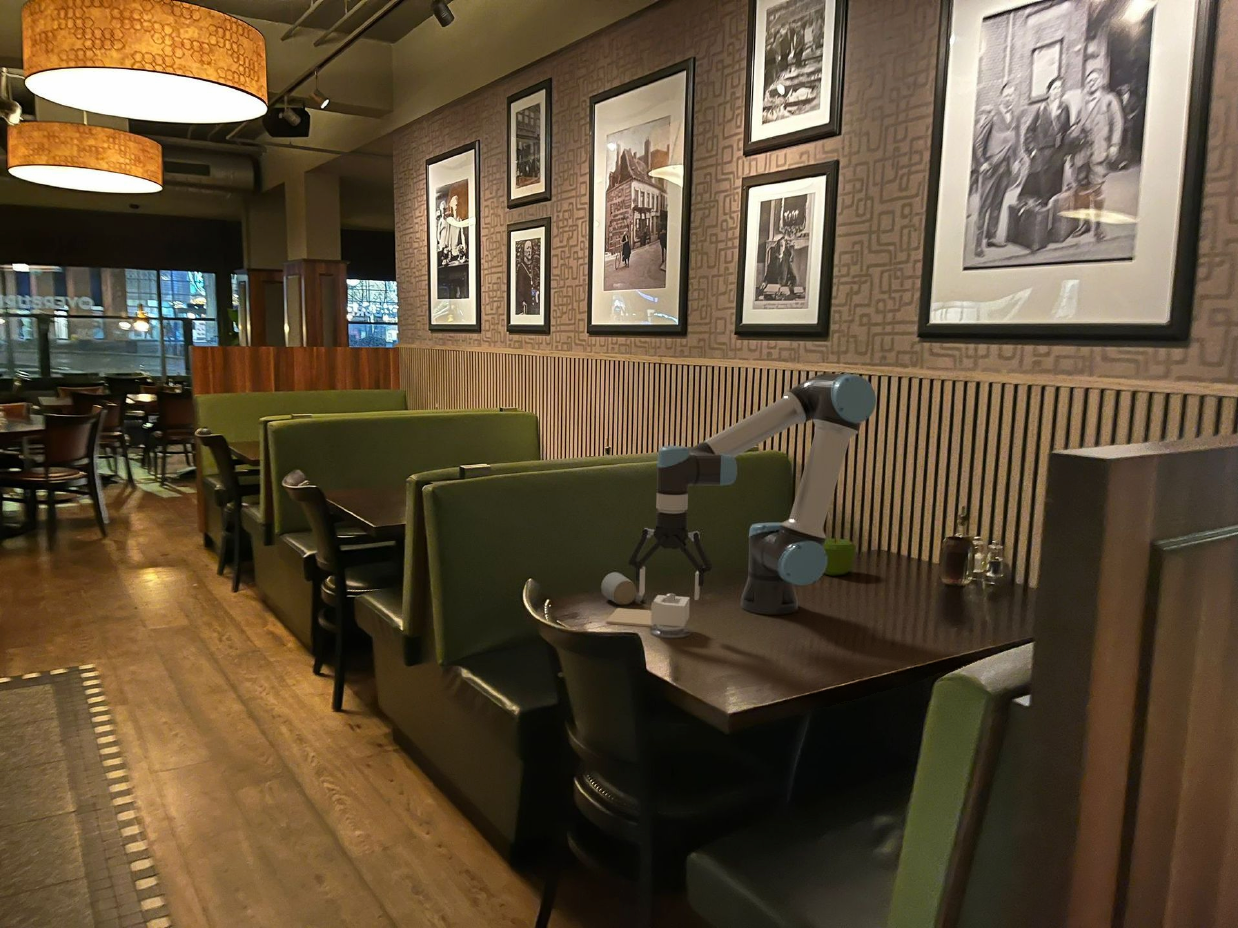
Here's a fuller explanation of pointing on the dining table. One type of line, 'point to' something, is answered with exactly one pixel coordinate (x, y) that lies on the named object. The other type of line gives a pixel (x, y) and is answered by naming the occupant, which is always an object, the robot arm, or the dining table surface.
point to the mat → (631, 617)
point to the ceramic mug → (619, 589)
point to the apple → (839, 556)
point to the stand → (669, 630)
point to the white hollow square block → (670, 611)
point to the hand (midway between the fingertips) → (669, 596)
